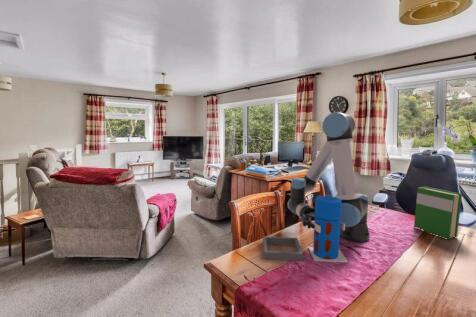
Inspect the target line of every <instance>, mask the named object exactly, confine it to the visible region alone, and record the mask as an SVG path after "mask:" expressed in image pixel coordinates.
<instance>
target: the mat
mask: <svg viewBox="0 0 476 317" xmlns="http://www.w3.org/2000/svg"><path fill="white" fill-rule="evenodd" d="M308 250H309V252H310V255H311V257H312V259H313V261H314V262H329V263H344V264H345V263H349V260H348V259H347V258H346V256H345V255H344V253H343V252H342V251H341V249H340V248H339V252H338V257H337V258H336V259H331V260H330V259H322V258H320V257H317V256H316V255H315V254H314V252H313V246H308Z"/></svg>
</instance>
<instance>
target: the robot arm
mask: <svg viewBox="0 0 476 317" xmlns="http://www.w3.org/2000/svg"><path fill="white" fill-rule="evenodd" d="M321 127H322V128H321V129H322V131H323V133H324V134H325V136H326V141H325V143H324V144H323V146H322V148H321V149H320V151H319V152H318V154H317V156H316V157H315V159H314V160H313V161H312V164H311V166H310V167H309V168H308V170H307V171H306V173H305V175H304V177H293V178H291V184H290V189H291V190H290V198H289V199H288V201H287V208H288V209H289V211H291V212H292V213H293V214H296V215H297V217H299V220H300V221H301V224H302V227H307V229H313V231H314V230H316V231H317V232H318V233H321V226H319V225H318V224H316V223H315V222H314V221H315V207H313V206H311V205H309V204H307V203H306V194H307V193H309V192H311V191H313V190H315V188H316V187H317V183H318V181H319V180H320V178H321V177H322V176H323V174H324V172H325V171H326V169H327V168H328V166H329V165H330V164H331V161H332V165H333V171H334V172H333V173H334V180H335V187H336V195H335V196H334V197H335V198H339V199H341V202H342V208H341V224H340V237H341V238H343V239H344V240H347V241H350V242H351V241H352V242H358V243H359V242H361V243H363V242H368V241H369V240H370V237H371V236H370V231H369V227H368V211H369V202H370V200H369V196H368V195H367V194H365V193H364V194H363V193H359V192H357V186H356V179H355V172H354V162H353V157H352V156H353V155H352V148H351V147H352V146H351V142H352V141H353V139H354V137H353V136H354V135H353V132H354V131H355V129H356V121H355V119H354V118H353V116H352V115H351V114H348V113H344V112H341V111H337V112H335V111H334V112H331V113H329V114H327V116H326V117H325V118H324V119H323V121H322V126H321Z"/></svg>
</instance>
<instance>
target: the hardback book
mask: <svg viewBox="0 0 476 317" xmlns="http://www.w3.org/2000/svg"><path fill="white" fill-rule="evenodd" d="M416 193H417V194H416V204H415V214H414V222H413V223H414V224H413V228H414V227H418V228H420V229H423V230H424V231H426V232H429V233H432V234H435V235H438V236H441V237H444V238H447V239H451V238H453V237H454V236H455V237H457V238H458V232H459V231H458V230H459V223H460V222H459V221H460V214H461V207H462V206H461V205H462V204H461V203H462V196H463V194H462V193H461V192H460V193H459V192H454V191H450V190H445V189H440V188H434V187H430V186H421V187H417V192H416ZM426 232H425V233H426ZM429 233H428V234H429ZM432 234H431V235H432ZM435 235H434V236H435ZM438 236H437V237H438ZM441 237H440V238H441ZM444 238H443V239H444Z"/></svg>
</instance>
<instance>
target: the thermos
mask: <svg viewBox="0 0 476 317" xmlns="http://www.w3.org/2000/svg"><path fill="white" fill-rule="evenodd" d="M314 204H315V206H314V209H315V221H313V222H315V223H316V224H318V225H319V226H321V233H318V232H317V231H316V230H314V229H313V246H312V247H313V252H314V254H315V255H316V256H317V257H320V258H322V259H330V260H331V259H336V258H337V257H338V252H339V249H340V237H341V236H340V224H341V208H342V202H341V199H339V198H335V196H328V195H321V196H320V195H319V196H316V198H315V202H314Z"/></svg>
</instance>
